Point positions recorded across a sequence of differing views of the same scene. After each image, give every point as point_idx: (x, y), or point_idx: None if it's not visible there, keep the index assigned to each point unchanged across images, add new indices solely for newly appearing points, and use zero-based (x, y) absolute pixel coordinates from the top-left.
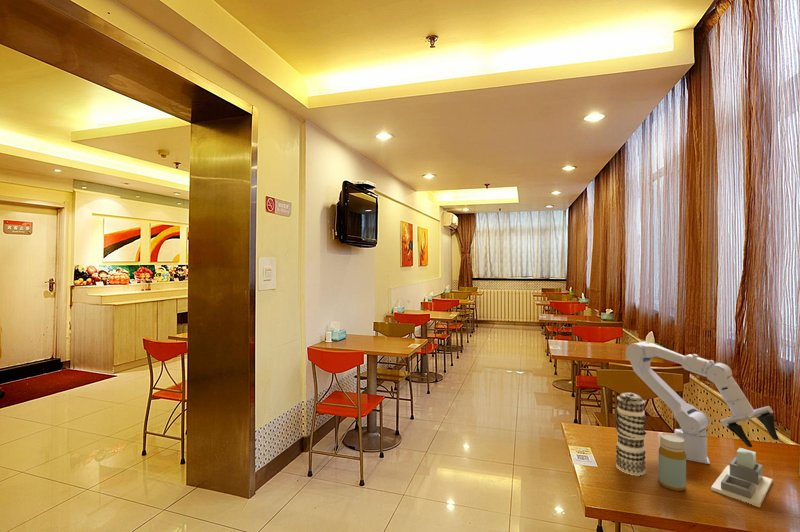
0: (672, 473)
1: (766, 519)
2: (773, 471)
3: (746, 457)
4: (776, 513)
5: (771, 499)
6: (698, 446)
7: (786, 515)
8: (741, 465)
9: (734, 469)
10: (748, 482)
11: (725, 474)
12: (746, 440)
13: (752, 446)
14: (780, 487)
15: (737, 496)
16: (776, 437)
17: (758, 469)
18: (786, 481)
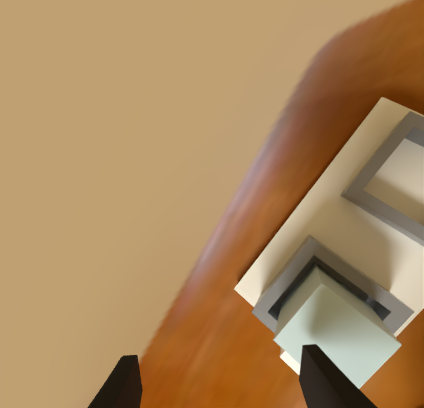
0: None
1: (395, 34)
2: (191, 359)
3: (347, 299)
4: (337, 87)
5: (303, 172)
6: None
7: (311, 88)
8: (355, 298)
9: (386, 290)
10: (371, 195)
11: (404, 302)
12: (351, 386)
13: (303, 345)
14: (230, 256)
15: None
16: (125, 365)
17: (294, 266)
18: (192, 297)
